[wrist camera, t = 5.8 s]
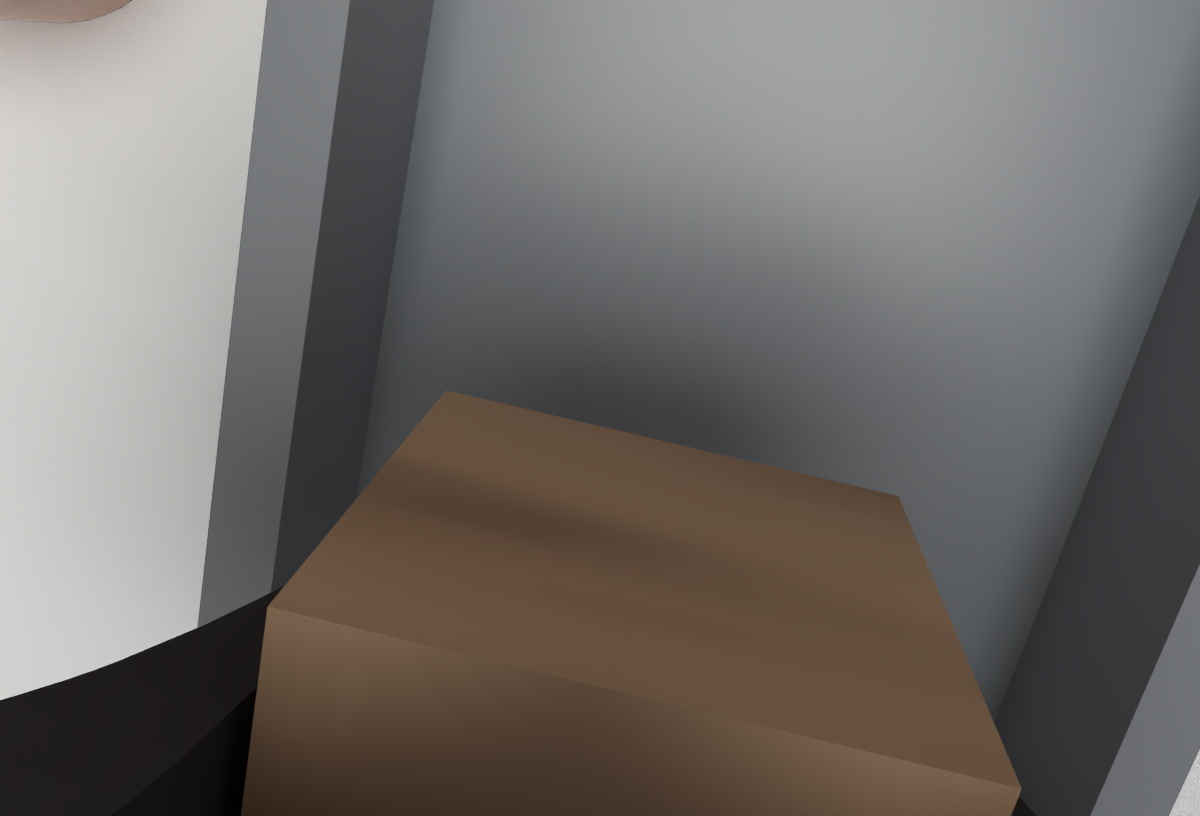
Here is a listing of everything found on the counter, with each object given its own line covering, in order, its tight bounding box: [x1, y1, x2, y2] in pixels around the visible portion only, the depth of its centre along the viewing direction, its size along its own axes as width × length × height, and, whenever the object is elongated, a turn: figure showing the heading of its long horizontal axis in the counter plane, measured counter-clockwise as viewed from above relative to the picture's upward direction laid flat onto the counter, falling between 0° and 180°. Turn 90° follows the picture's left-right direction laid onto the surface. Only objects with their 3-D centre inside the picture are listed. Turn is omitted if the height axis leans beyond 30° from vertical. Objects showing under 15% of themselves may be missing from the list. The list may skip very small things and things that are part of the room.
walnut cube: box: [241, 390, 1022, 816], centre depth 10 cm, size 5×5×5 cm
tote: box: [198, 0, 1200, 816], centre depth 16 cm, size 18×14×5 cm
